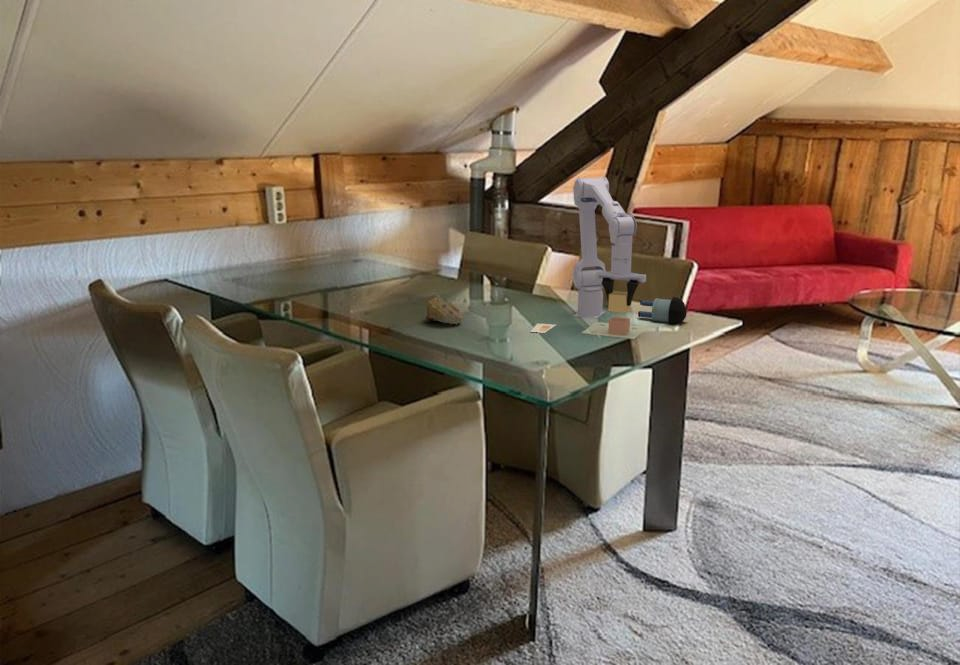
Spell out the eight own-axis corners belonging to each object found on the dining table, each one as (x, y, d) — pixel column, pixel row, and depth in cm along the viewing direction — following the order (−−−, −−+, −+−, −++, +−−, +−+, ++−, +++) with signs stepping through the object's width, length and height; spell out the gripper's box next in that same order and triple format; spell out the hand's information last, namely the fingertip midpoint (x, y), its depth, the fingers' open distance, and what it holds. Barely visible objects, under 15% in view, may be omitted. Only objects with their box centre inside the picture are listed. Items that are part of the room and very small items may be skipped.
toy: (638, 325, 236) (685, 330, 228) (632, 314, 229) (680, 319, 221) (644, 301, 238) (690, 305, 231) (637, 290, 231) (685, 294, 224)
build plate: (595, 323, 231) (596, 321, 230) (646, 328, 224) (646, 326, 224) (581, 334, 219) (581, 332, 218) (634, 340, 212) (634, 338, 212)
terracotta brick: (613, 329, 222) (613, 316, 221) (629, 331, 220) (630, 318, 218) (608, 333, 217) (608, 320, 216) (624, 335, 215) (625, 322, 214)
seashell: (445, 334, 225) (447, 302, 222) (415, 321, 235) (416, 291, 232) (471, 328, 233) (473, 297, 230) (441, 315, 243) (443, 286, 239)
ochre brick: (613, 307, 220) (614, 291, 218) (629, 309, 217) (630, 292, 216) (608, 311, 215) (608, 294, 214) (625, 312, 213) (625, 296, 212)
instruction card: (537, 324, 230) (537, 323, 230) (559, 325, 228) (559, 324, 228) (530, 332, 221) (530, 331, 221) (553, 334, 219) (553, 333, 219)
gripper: (592, 259, 212) (591, 304, 216) (642, 262, 206) (640, 309, 210) (600, 255, 218) (599, 299, 222) (648, 258, 212) (646, 304, 216)
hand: (619, 304), depth 216 cm, fingers closed on ochre brick, 5 cm apart
